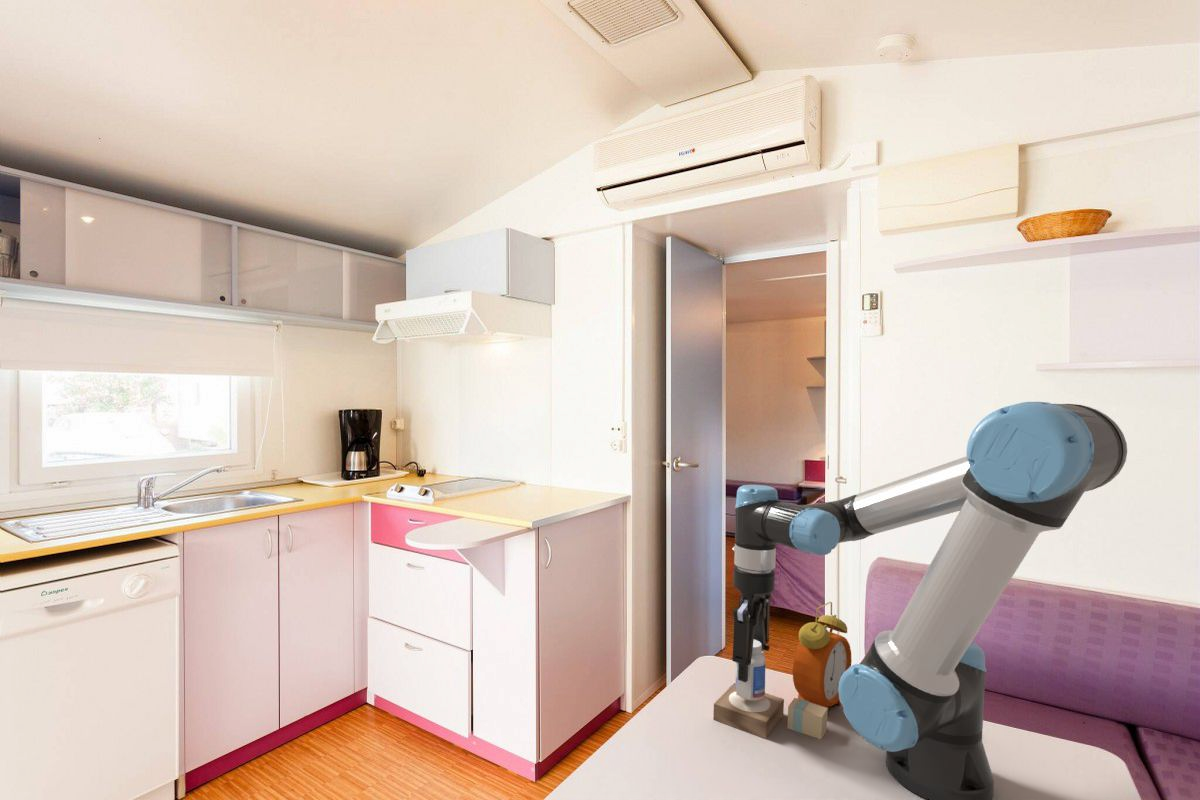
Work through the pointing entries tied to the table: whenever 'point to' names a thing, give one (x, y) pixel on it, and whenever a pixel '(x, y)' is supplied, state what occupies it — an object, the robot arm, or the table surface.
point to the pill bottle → (757, 672)
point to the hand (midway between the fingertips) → (750, 689)
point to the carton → (807, 718)
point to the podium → (749, 712)
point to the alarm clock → (821, 660)
